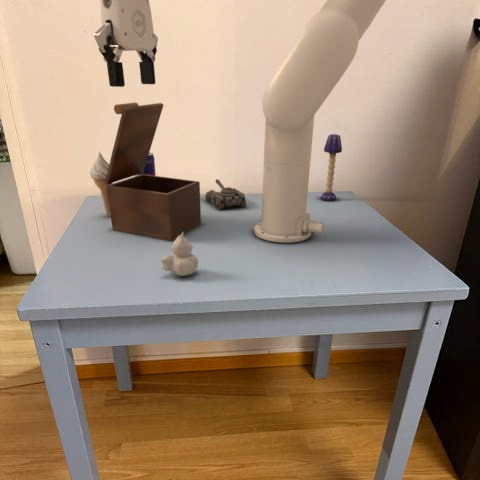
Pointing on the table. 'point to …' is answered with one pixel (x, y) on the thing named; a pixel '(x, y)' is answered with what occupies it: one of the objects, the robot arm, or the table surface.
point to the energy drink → (149, 166)
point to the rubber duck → (180, 258)
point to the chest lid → (133, 139)
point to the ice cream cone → (101, 179)
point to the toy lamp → (331, 164)
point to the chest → (155, 206)
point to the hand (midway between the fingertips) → (133, 85)
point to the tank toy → (225, 197)
